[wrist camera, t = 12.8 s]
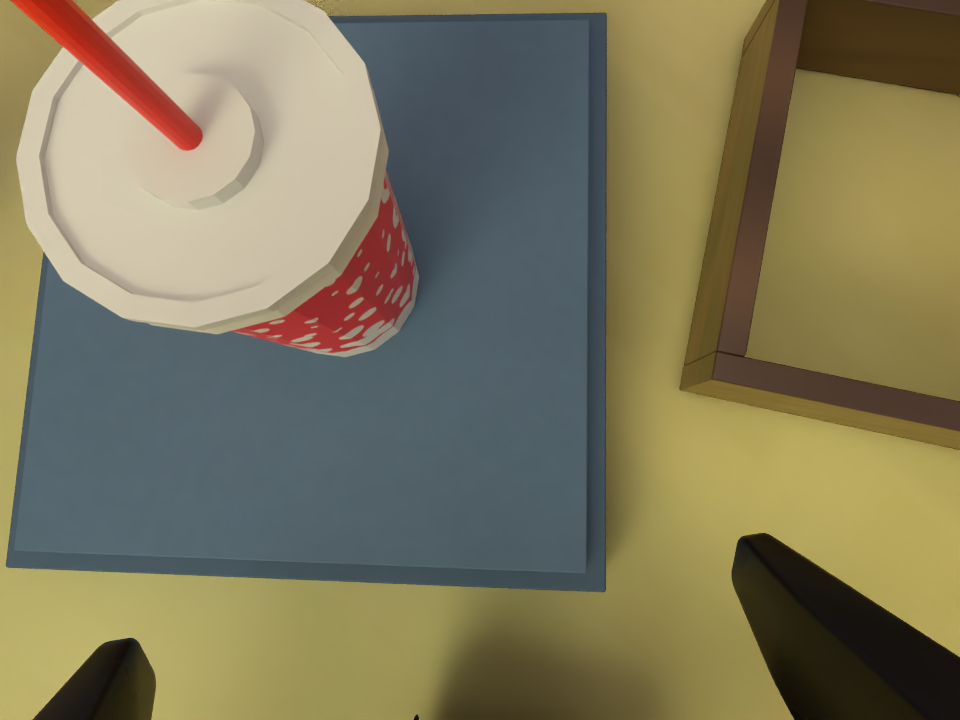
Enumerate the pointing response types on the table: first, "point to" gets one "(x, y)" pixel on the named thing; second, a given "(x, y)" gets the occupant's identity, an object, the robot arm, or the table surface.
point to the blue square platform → (370, 361)
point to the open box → (750, 189)
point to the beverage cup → (217, 172)
